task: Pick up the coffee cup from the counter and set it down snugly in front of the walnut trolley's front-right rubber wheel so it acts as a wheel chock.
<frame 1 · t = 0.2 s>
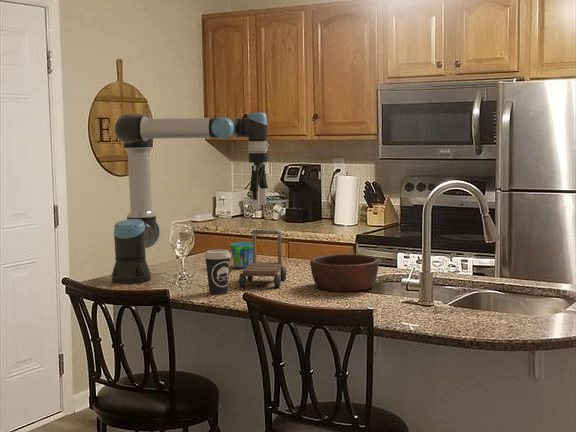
hand: (259, 206, 304), 28 cm above the worktop, fingers open, 13 cm apart
wooden bowl: (344, 287, 283), on the worktop
coffee cup: (218, 293, 276), on the worktop
snack cup: (243, 268, 326), on the worktop
trolley: (263, 283, 291), on the worktop
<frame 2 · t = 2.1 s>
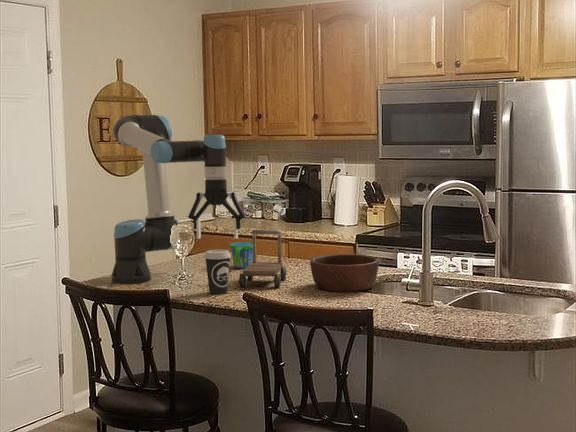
hand: (217, 238, 273), 20 cm above the worktop, fingers open, 13 cm apart
nothing on the worktop moved.
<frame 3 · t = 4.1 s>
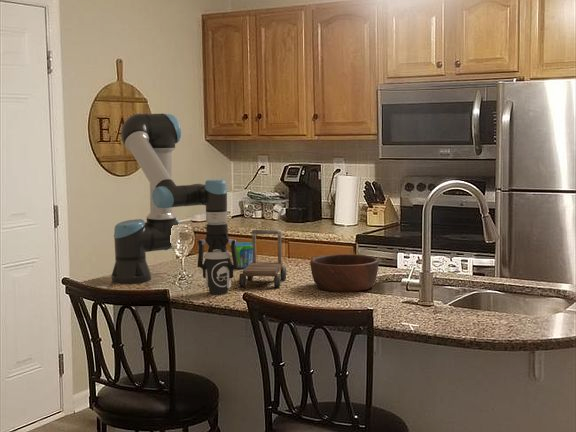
hand: (218, 286, 275), 2 cm above the worktop, fingers closed on coffee cup, 7 cm apart
coffee cup: (218, 293, 276), on the worktop, touching gripper
everything else where it was.
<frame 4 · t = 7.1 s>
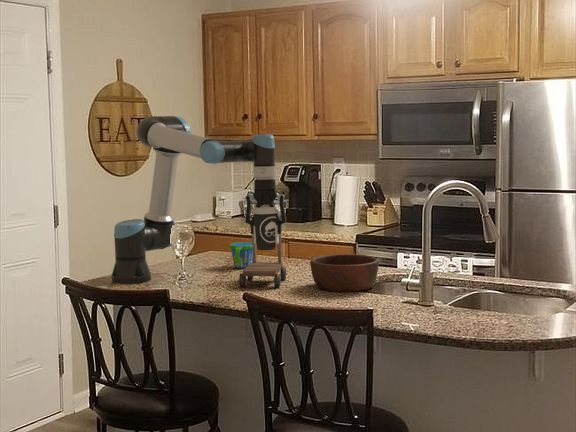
hand: (266, 243, 273), 18 cm above the worktop, fingers closed on coffee cup, 7 cm apart
coffee cup: (266, 249, 273), point 15 cm above the worktop, touching gripper
everything else where it was.
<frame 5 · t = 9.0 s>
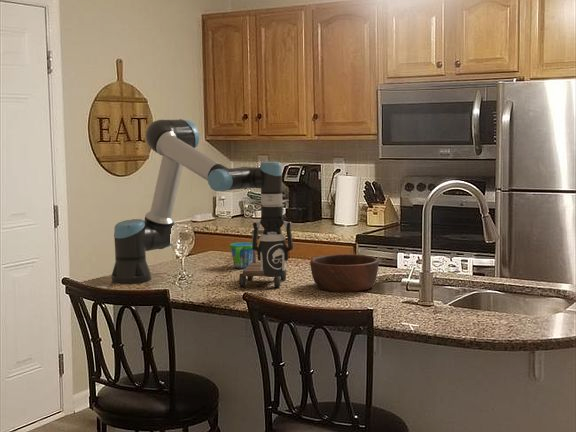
hand: (273, 269, 274), 8 cm above the worktop, fingers closed on coffee cup, 7 cm apart
coffee cup: (273, 275, 274), point 6 cm above the worktop, touching gripper
everything else where it was.
when the fingers open (3 cm above the worktop, at t = 10.3 s): coffee cup drops 1 cm, on the worktop.
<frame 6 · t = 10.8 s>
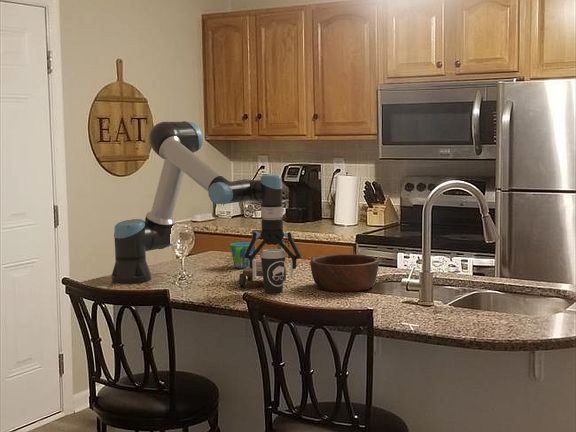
hand: (273, 277, 275), 5 cm above the worktop, fingers open, 13 cm apart
coffee cup: (273, 292, 275), on the worktop
everything else where it was.
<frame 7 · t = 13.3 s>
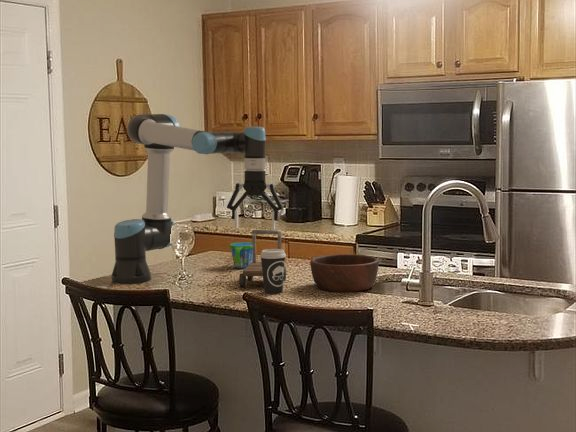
hand: (255, 228, 278), 22 cm above the worktop, fingers open, 13 cm apart
nothing on the worktop moved.
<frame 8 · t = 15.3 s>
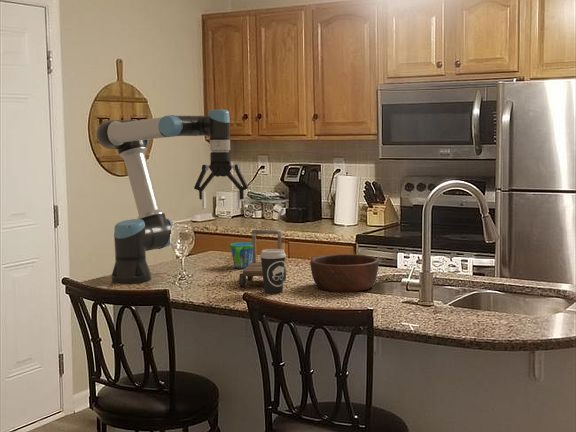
hand: (221, 208, 289), 29 cm above the worktop, fingers open, 13 cm apart
nothing on the worktop moved.
at the end: coffee cup inside the target area on the worktop beside the trolley (0.2 cm from its centre), on the worktop; coffee cup tilted 0°; the gripper is holding nothing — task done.
